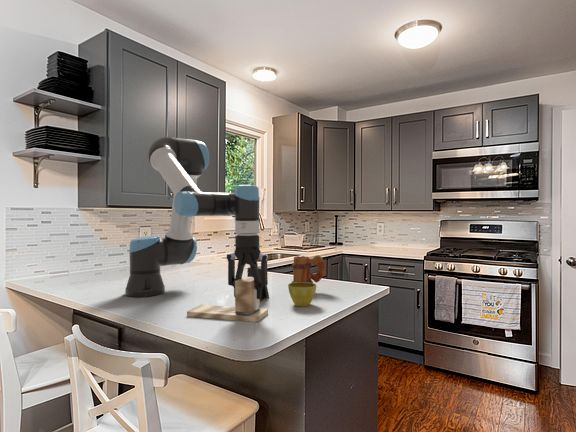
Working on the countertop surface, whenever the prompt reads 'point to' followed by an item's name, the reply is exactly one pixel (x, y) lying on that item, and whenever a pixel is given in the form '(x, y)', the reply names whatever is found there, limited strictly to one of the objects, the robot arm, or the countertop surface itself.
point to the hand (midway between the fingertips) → (247, 308)
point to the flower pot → (302, 292)
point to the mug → (307, 269)
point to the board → (225, 313)
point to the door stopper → (264, 289)
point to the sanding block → (245, 296)
